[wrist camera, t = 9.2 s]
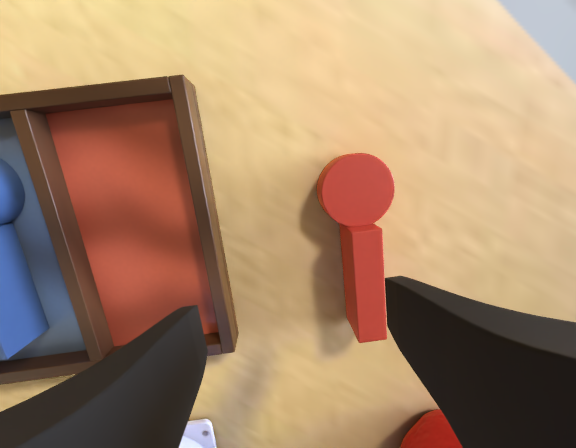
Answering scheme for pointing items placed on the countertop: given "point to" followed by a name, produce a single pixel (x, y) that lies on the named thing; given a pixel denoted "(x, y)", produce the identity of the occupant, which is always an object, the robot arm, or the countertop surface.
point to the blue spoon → (15, 274)
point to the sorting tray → (114, 219)
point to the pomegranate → (431, 433)
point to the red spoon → (360, 235)
